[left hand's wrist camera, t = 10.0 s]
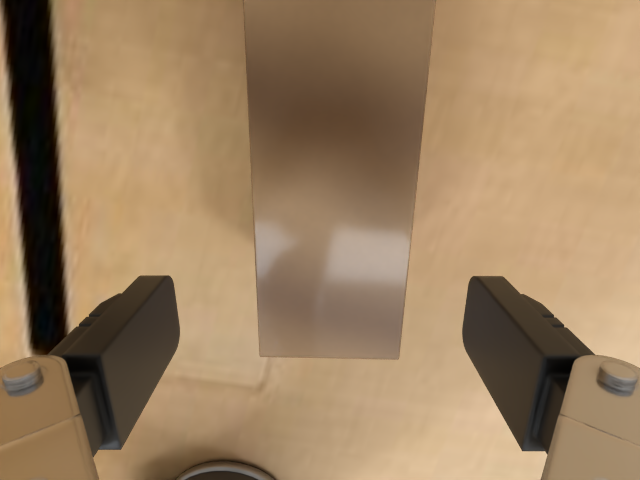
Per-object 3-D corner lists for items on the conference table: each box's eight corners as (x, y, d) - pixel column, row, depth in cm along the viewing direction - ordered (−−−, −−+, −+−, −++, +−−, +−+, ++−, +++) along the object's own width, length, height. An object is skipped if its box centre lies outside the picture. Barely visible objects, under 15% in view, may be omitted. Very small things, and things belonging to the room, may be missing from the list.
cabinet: (273, -142, 18) (226, -351, 9) (401, -141, 18) (472, -348, 9) (282, 263, 24) (259, 357, 16) (373, 264, 24) (399, 360, 16)
